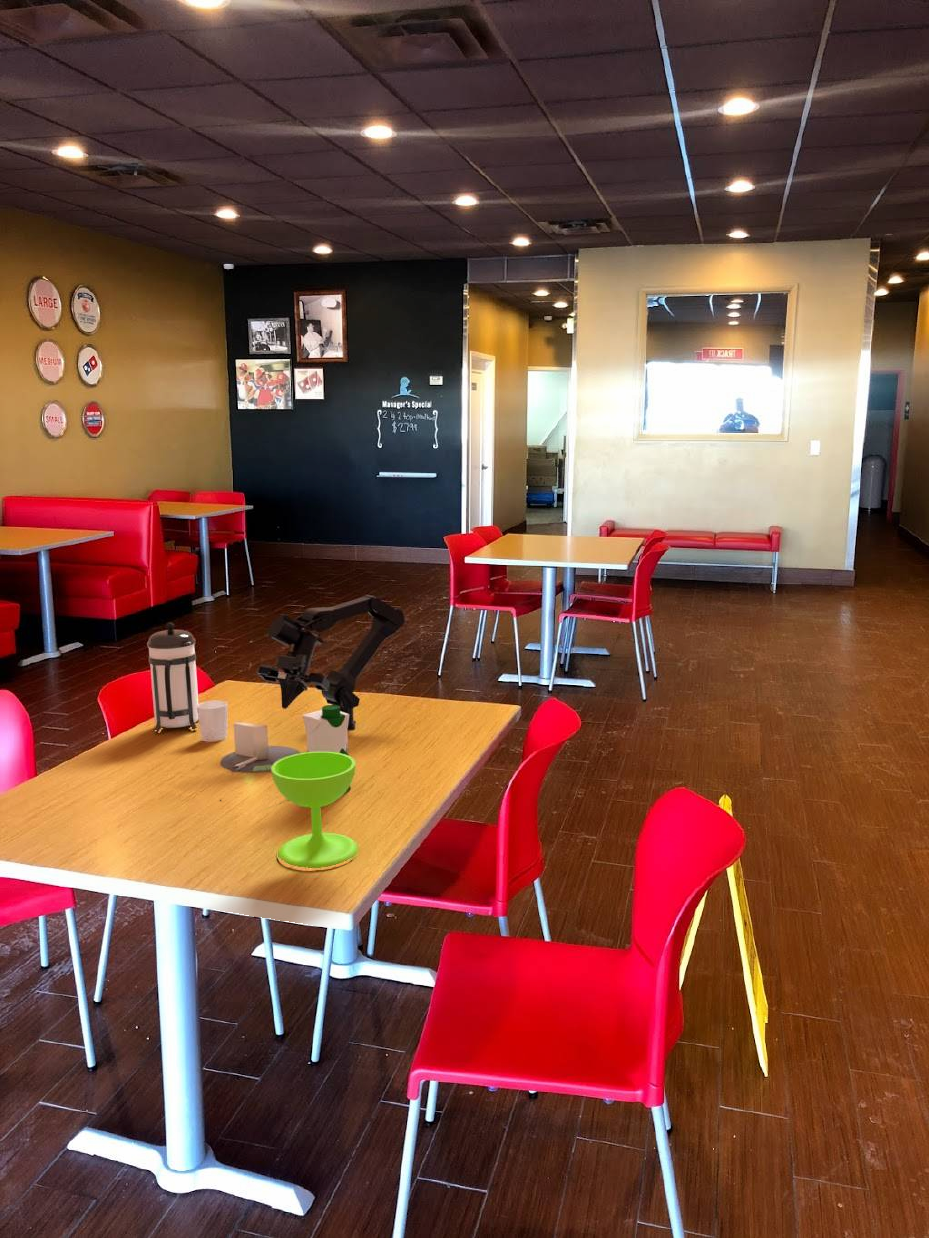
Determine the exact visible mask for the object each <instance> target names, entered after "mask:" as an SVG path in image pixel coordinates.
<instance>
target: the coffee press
mask: <svg viewBox="0 0 929 1238" xmlns="http://www.w3.org/2000/svg"><path fill="white" fill-rule="evenodd" d="M165 625H166V626H165V629H166V630H161V631H157V632H154V633H153V634H151V635H150V637H149V638H148V641H147V643H146V645H147V648H148V654H149V655H148V663H149V665H150V667H149V668H150V675H151V676H150V678H151V690H152V701H153V702H152V703H153V713H154V714H153V715H154V722H155V727H154V729H153V731H154V730H157V731H158V730H159V729H160V728H161V727H162V728H163V730H164V729H166V728H168V729H169V728H170V729H172V728H173V729H174V728H176V729H177V728H183V727H185V728H187V729H188V728H190V727H192V729H195V728H197V727H198V726H197V725H196V722H197V720H198V712H197V705H198V704H199V694H198V693H199V692H198V691H199V690H198V679H197V678H198V677H197V665H196V660H197V654H196V651H195V644H196V638H195V637H194V635H193V634H192V633H191V632H190V631H188V630H184V629H174V628H175V624H174V623H173V622H167V623H166V624H165Z"/></svg>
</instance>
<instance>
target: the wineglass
mask: <svg viewBox="0 0 929 1238" xmlns="http://www.w3.org/2000/svg"><path fill="white" fill-rule="evenodd" d="M270 772H271V774H272V780H273V782H274V785H275V786H276V788H277V790H278V791H279V793H280V794H282V796H284V797H285V799H286V800H288V801H289V802H291V803H293V804H296V806H299V807H302V808H303V807H304V808H310V816H311V817H310V818H311V819H310V820H311V833H309V834H307V833H306V834H304V835H300V836H298V837H293V838H292V839H290V840H288V841H287V842H285V843H284V844H282V845H281V846H280V847H279V849H280V850H279V849H278V850H277V852H278V857H279V858H281V860H284V861H285V862H286V863H288V864H290V865H294V866H298V867H305V868H306V867H308V868H321V867H328V866H332V865H336V864H339V863H342V862H344V861H347V860H348V859H350V858H353V857H354V856H355V855H356V854H357V852H358V848H359V845H358V843H356V842H355V841H354V839H352V838H350V837H348V836H347V835H343V834H339V833H333V832H323V828H322V825H323V824H322V808H321V807H325V806H328V805H331V804H334V802H336V801H338V799H340V798H342V797H343V795H345V793H346V792H347V791H348V790H347V789H348V788H349V786H350V787H351V785H352V782H353V779H354V777H355V775H356V774H355V773H356V759H354V758H353V757H352V756H350V755H349V754H348V755H346V754H342V753H337V752H306V751H305V752H301V753H300V754H295V755H291V756H287V757H285V758H282V759H280V760H278V761H277V762H275V763H274V764H273V765H272V767H271V771H270Z"/></svg>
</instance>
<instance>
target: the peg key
mask: <svg viewBox="0 0 929 1238" xmlns="http://www.w3.org/2000/svg"><path fill="white" fill-rule="evenodd" d="M268 734H269V733H268V725H266V724H253V723H249V722H244V721H243V722H242V721H236V722H233V737H234V738H233V739H234V741H233V742H234V752H235V754H239V755H244V756H249V757H254V758H251V759H249V760H247V761H244V762H242V763H240V764H237V765H234V766H232V769H237V768H239V767H240V766H243V765H245V764H248V763H250V762H252V761H255V760H265V759H268V758H269V749H268V746H269V735H268Z"/></svg>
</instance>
